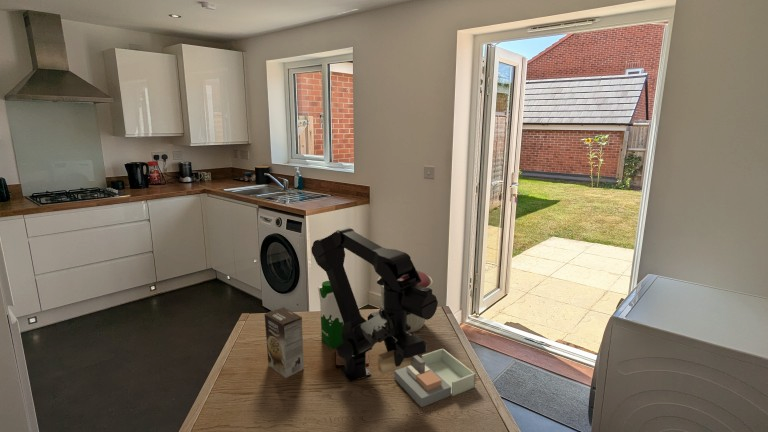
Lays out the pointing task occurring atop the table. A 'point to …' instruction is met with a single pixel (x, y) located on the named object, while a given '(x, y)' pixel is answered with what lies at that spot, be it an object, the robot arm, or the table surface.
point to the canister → (412, 319)
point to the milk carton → (330, 317)
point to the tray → (450, 370)
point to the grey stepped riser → (421, 388)
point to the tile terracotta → (429, 380)
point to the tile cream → (415, 371)
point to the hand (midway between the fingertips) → (394, 363)
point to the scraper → (388, 363)
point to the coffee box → (284, 341)
